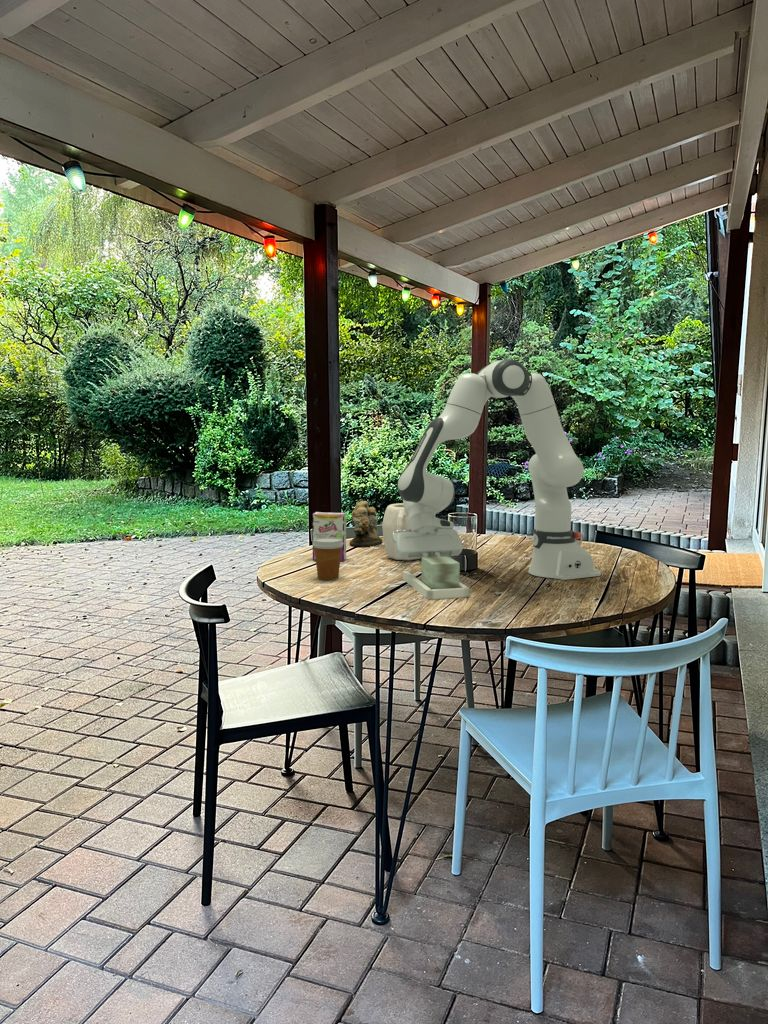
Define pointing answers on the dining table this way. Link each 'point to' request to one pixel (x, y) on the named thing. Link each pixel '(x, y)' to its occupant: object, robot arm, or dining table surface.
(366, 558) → the dining table surface
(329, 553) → the disposable coffee cup
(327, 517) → the candy bar box
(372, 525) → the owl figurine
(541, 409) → the robot arm
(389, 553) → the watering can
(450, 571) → the sage block
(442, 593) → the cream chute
